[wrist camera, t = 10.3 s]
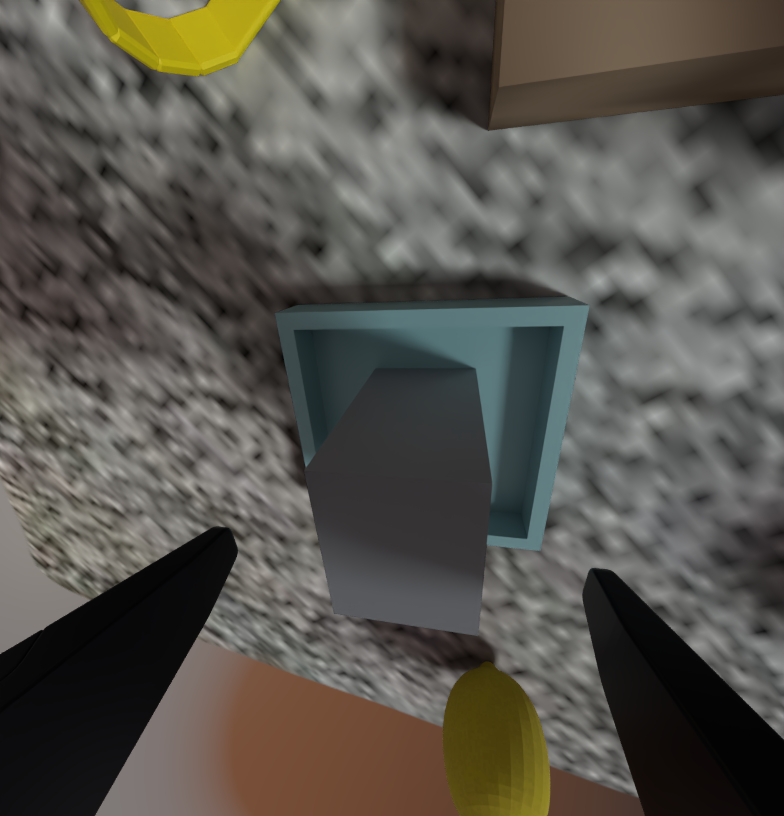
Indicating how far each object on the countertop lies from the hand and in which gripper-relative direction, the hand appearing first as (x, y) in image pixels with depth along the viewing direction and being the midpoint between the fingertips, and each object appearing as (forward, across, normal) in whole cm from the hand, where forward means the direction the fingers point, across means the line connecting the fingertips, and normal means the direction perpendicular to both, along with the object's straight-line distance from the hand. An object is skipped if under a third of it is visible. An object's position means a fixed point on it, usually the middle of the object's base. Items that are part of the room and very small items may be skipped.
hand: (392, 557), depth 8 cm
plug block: (+7, 0, 0) cm, 7 cm away
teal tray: (+7, 0, 0) cm, 7 cm away
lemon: (+8, -4, +18) cm, 20 cm away
